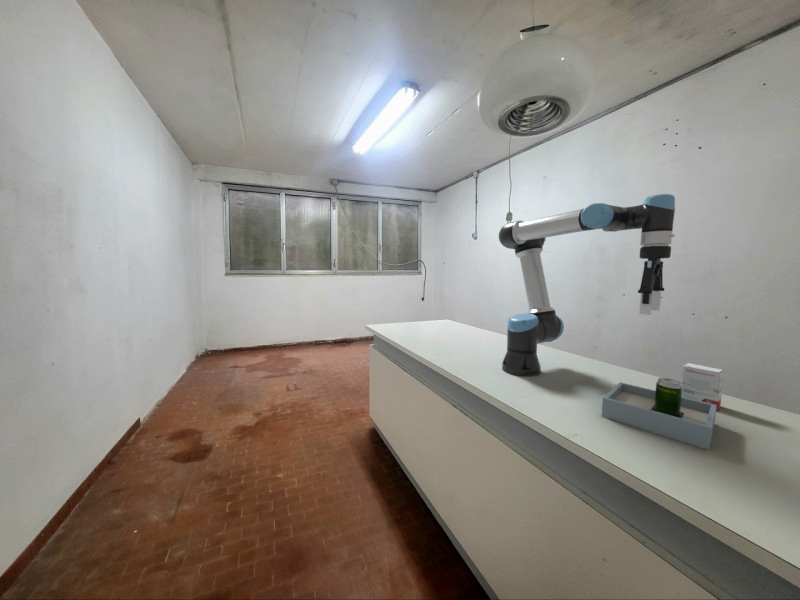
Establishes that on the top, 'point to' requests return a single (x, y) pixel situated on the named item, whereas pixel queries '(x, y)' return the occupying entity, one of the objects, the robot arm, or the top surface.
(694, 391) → the ink box
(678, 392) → the beer can
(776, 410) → the top surface
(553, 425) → the top surface
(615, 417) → the inlet box
